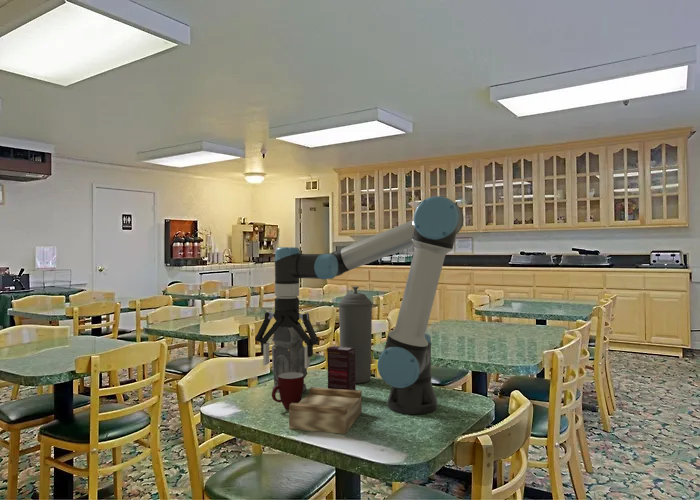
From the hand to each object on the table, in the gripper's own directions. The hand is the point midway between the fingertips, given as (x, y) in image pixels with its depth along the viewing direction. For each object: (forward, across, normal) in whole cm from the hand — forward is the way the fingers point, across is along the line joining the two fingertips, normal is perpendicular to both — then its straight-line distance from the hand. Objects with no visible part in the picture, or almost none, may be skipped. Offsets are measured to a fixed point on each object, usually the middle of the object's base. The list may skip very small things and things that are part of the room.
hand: (286, 365), depth 155 cm
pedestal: (+13, -16, +7) cm, 21 cm away
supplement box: (+13, -12, -18) cm, 26 cm away
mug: (+13, -1, 0) cm, 13 cm away
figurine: (+14, +6, -19) cm, 24 cm away
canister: (+13, -13, -37) cm, 41 cm away
